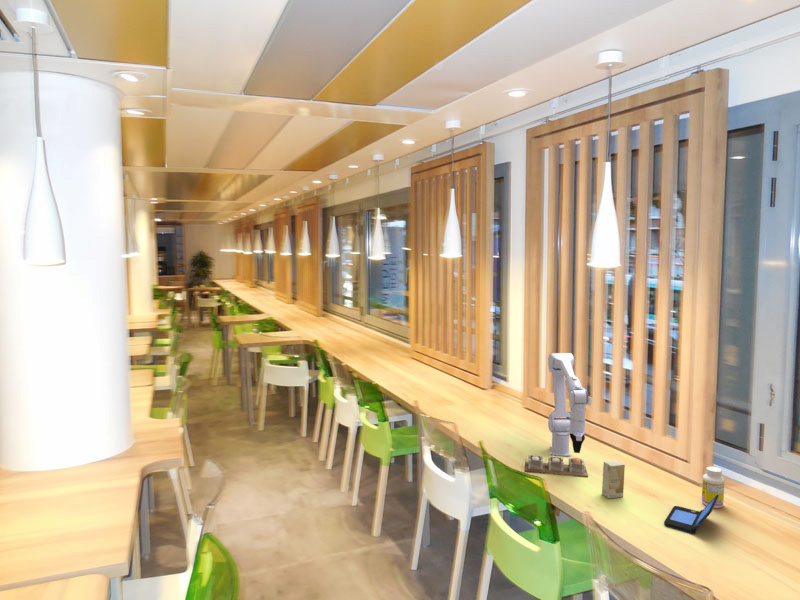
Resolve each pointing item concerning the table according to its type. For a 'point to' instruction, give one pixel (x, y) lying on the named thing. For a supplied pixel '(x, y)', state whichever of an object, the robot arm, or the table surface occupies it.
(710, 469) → the supplement bottle
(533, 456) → the plug
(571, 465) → the board
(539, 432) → the table surface
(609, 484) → the skincare box
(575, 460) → the terracotta plug
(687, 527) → the handheld game console
